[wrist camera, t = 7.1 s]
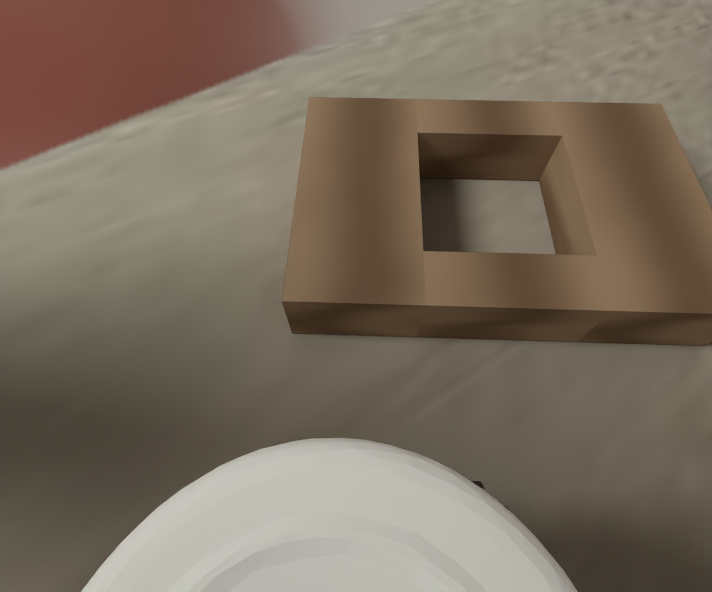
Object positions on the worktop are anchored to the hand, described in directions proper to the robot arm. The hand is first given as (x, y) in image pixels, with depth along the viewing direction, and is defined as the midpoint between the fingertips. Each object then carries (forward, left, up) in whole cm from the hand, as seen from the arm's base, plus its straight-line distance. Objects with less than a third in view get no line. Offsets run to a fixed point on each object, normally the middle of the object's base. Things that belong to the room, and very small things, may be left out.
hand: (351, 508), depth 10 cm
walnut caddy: (+6, +13, -6) cm, 16 cm away
